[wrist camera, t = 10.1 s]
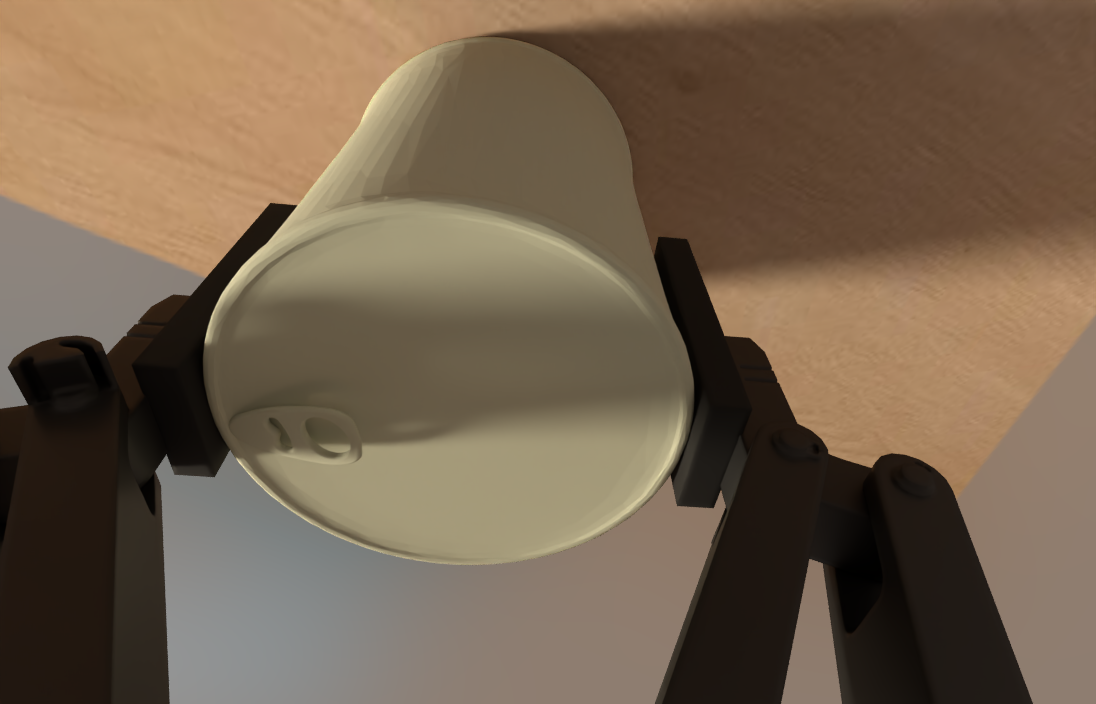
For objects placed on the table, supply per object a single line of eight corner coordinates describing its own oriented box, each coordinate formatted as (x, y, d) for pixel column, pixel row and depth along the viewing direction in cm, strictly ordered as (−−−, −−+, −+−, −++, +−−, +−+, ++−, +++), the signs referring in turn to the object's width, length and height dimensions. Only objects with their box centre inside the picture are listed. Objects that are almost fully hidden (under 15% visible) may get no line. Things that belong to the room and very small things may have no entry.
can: (324, 41, 18) (78, 222, 9) (639, 28, 18) (740, 198, 9) (385, 306, 24) (276, 591, 14) (626, 298, 24) (679, 582, 14)
